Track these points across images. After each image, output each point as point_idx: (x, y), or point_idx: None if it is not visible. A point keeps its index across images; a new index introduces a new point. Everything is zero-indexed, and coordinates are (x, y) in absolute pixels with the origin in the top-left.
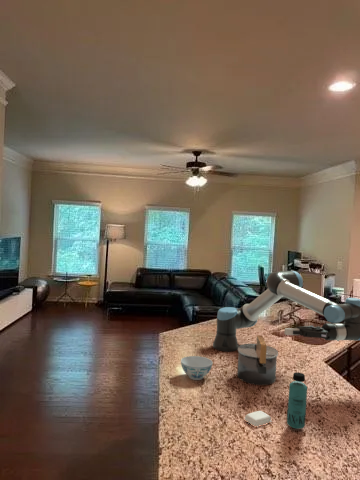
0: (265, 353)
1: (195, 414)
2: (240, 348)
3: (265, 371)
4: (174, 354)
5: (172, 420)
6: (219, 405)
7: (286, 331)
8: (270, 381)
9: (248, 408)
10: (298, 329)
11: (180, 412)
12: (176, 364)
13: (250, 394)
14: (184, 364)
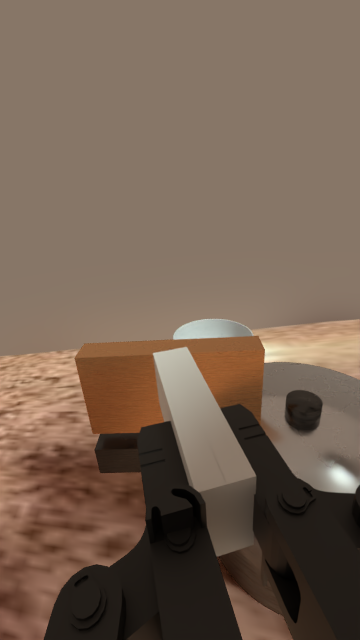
0: (85, 393)
1: (32, 381)
2: (275, 368)
3: (99, 463)
4: (339, 332)
5: (24, 360)
6: (59, 410)
7: (156, 377)
8: (231, 569)
9: (23, 468)
10: (187, 475)
11: (47, 365)
12: (276, 340)
13: (117, 480)
14: (185, 324)
